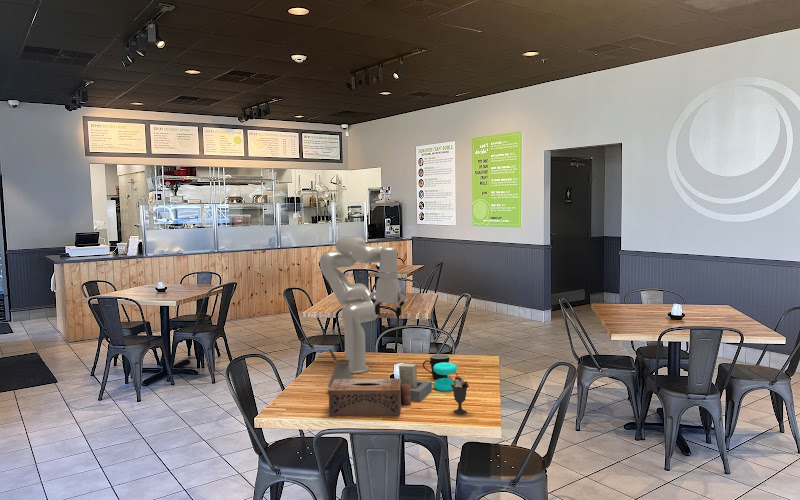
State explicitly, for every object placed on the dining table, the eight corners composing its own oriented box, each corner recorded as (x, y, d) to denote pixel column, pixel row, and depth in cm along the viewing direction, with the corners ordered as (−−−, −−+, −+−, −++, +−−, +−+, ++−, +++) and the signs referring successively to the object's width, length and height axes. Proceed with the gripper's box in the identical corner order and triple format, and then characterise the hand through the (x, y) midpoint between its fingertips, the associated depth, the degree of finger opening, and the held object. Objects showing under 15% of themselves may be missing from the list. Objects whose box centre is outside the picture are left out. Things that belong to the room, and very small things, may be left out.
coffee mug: (449, 375, 265) (449, 353, 264) (449, 381, 256) (449, 358, 256) (423, 375, 266) (423, 353, 265) (422, 381, 257) (422, 358, 257)
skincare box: (417, 393, 240) (417, 364, 239) (414, 396, 236) (413, 366, 235) (402, 391, 243) (402, 362, 242) (399, 395, 239) (398, 365, 238)
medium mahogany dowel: (399, 405, 226) (399, 385, 226) (403, 402, 230) (403, 383, 229) (408, 406, 225) (408, 386, 225) (412, 403, 228) (411, 384, 228)
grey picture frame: (386, 397, 235) (386, 387, 235) (400, 387, 248) (400, 378, 248) (419, 401, 230) (419, 391, 230) (431, 391, 243) (431, 381, 243)
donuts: (459, 362, 249) (453, 368, 240) (459, 385, 250) (453, 392, 241) (437, 360, 253) (430, 366, 243) (437, 383, 253) (430, 390, 244)
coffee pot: (360, 393, 241) (359, 357, 240) (333, 398, 236) (332, 361, 235) (342, 380, 260) (341, 346, 259) (317, 384, 255) (316, 349, 254)
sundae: (449, 409, 221) (449, 370, 220) (467, 408, 221) (466, 369, 220) (452, 415, 214) (452, 375, 213) (470, 414, 215) (470, 374, 214)
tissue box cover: (401, 404, 228) (401, 378, 228) (399, 417, 214) (399, 390, 213) (335, 404, 230) (334, 378, 229) (329, 417, 215) (328, 390, 214)
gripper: (366, 275, 252) (366, 315, 254) (403, 278, 246) (403, 318, 247) (373, 273, 259) (373, 312, 261) (410, 275, 253) (409, 315, 254)
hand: (388, 315), depth 254 cm, fingers open, 9 cm apart
